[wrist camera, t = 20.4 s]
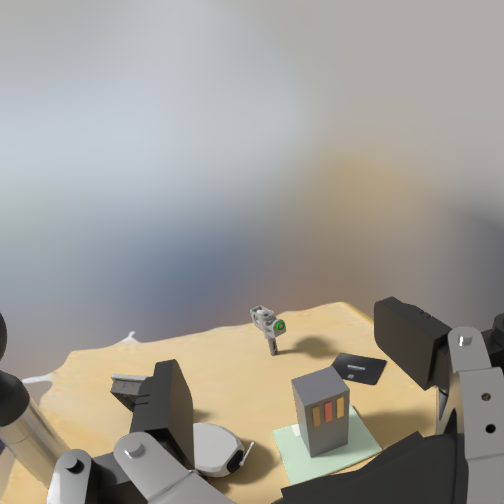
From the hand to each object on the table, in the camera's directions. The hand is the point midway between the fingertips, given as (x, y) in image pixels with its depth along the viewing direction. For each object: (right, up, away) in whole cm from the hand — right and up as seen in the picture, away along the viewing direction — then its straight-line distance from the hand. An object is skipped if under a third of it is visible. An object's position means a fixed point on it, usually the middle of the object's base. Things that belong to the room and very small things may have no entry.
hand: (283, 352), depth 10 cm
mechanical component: (+4, -18, +49) cm, 52 cm away
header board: (+9, -24, +23) cm, 34 cm away
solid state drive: (+18, -18, +38) cm, 46 cm away
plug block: (+9, -23, +23) cm, 34 cm away
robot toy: (-9, -28, +21) cm, 36 cm away
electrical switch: (-21, -27, +36) cm, 49 cm away
